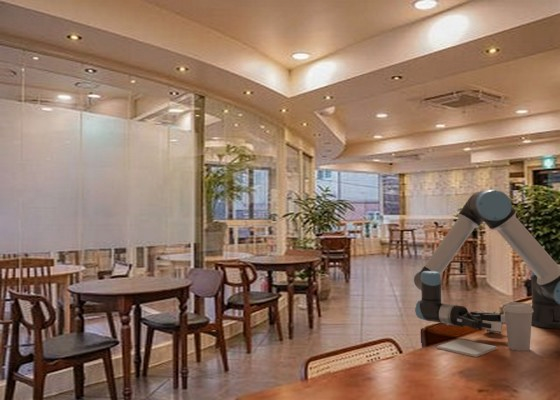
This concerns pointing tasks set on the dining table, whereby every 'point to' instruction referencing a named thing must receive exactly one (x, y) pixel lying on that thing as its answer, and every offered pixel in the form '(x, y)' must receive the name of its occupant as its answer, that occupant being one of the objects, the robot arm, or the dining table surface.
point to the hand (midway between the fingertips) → (510, 324)
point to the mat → (467, 347)
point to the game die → (493, 330)
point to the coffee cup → (518, 325)
